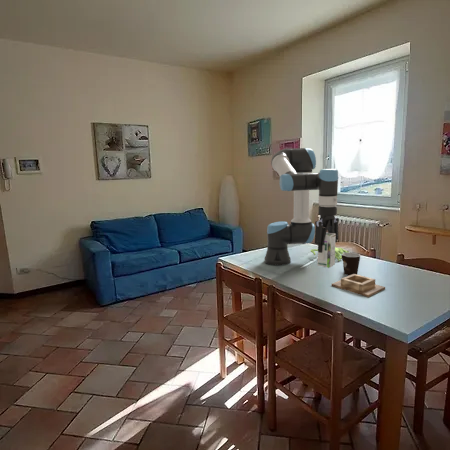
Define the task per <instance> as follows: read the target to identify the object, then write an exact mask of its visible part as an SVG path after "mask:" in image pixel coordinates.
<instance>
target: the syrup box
mask: <svg viewBox="0 0 450 450" xmlns="http://www.w3.org/2000/svg"><path fill="white" fill-rule="evenodd" d="M335 240H336V233H328V231H326V236H325V240H324V244H323V245H325V257H324V260H321V259H318V258H317V262H316V263H317V264H316V265H317V267H323V268H327V269H329V268H332V267H333V266H335V263H336V257H335V247H336V242H335Z"/></svg>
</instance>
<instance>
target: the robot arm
mask: <svg viewBox="0 0 450 450" xmlns="http://www.w3.org/2000/svg"><path fill="white" fill-rule="evenodd" d="M270 165H271V167H272V169H273V170H274V171H275V172H277V174H278V175H279V188H280V190H281V191H284V192H286V191H287V192H293V218H292V219H291V220H290V223H288V221H284V220H283V221H275V222H272V223H268V225H267V228H266V229H267V231H266V234H267V237H266V238H267V241H266V242H267V243H266V244H267V247H266V248H267V249H266V252H265V255H264V263H265V264H268V265H271V266H286V265H289V264H290V263H291V262H292V261H291V256H290V252H289V250H288V249H289V248H288V247H289V246H288V245H301V244H302V245H306V244H311V243H312V242H313V241H314V245H317V249H318V251H317V260H318V259H321V260H324V257H325V245H323V244H324V240H325V236H326V232H327V233H336V240H335V243H337V242H338V240H339V222H340V221H339V220H340V218H339V217H336V216H337V214H338V189H339V187H338V186H339V171H338V169H337V168H322V169H320V170H319V172H313V170H315V169H316V167H317V166H316V165H317V157H316V153H315V151H314V150H313V149H312V148H309V147H303V148H302V147H300V148H299V147H298V148H283V149H280V150H278V151H276V152H275V153H274V154H273V155H272V157H271V160H270ZM310 191H318V213H317V214H318V215H319V216H320V218H319V220H318V221H315V222H314V223H312V222H313V221H312V220H311V218H310Z"/></svg>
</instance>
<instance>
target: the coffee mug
mask: <svg viewBox="0 0 450 450" xmlns="http://www.w3.org/2000/svg"><path fill="white" fill-rule="evenodd" d="M341 256H342V259H341V260H342V267H343V274H344V275H345V276H346V275H347V276H350V275H352V274H357V275H358V272H359V266H360V260H361V254H360V253H356V252H349V253H346V252H343V254H341Z"/></svg>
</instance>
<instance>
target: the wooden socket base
mask: <svg viewBox="0 0 450 450" xmlns="http://www.w3.org/2000/svg"><path fill="white" fill-rule="evenodd" d="M330 286H331V287H334V288H337V289H340V290H343V291H348V292H351V293H354V294H356V295H360V296H363V297H366V298H370V297H371V296H373V295H376V294H377V293H380V292H382V291H384V290H386V286H383V285H380V284H376V279H375V278H372V277H367V276H365V275H364V276H363V275H360V274H358V273H357V274H352V275H347V276H345V277H342V278H340V280H338V281H334V282H332V283H331V285H330Z"/></svg>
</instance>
